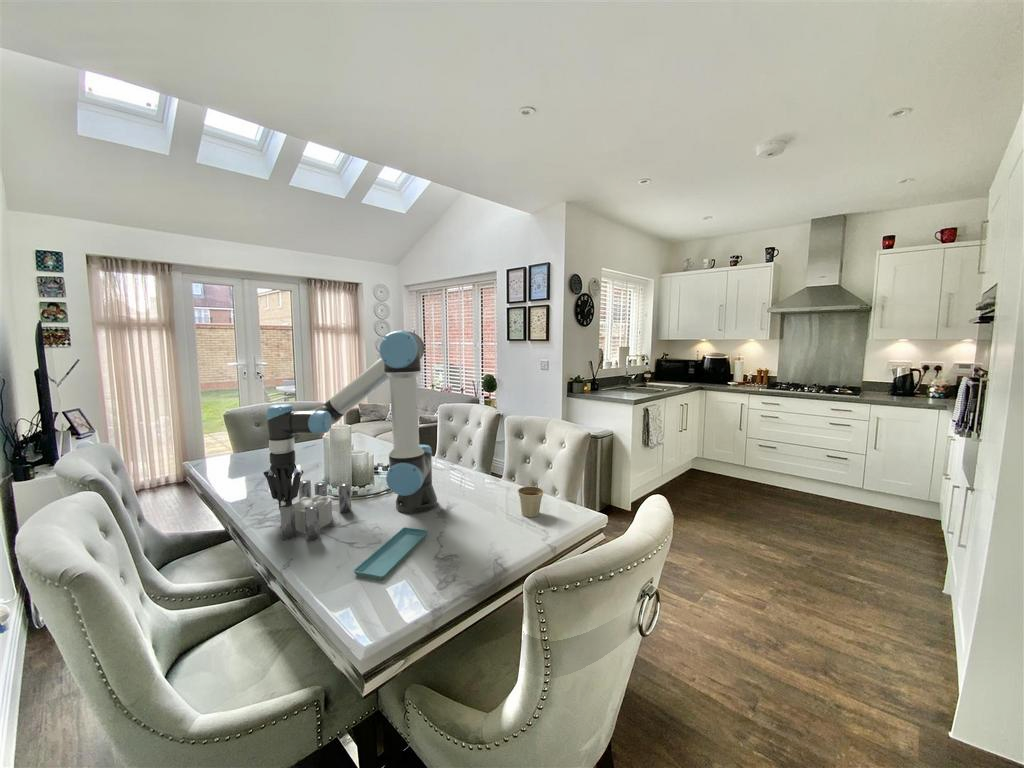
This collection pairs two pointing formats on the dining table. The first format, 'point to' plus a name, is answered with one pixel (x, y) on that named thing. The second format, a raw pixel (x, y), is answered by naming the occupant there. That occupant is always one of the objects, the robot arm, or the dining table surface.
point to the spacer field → (311, 510)
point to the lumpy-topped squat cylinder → (324, 511)
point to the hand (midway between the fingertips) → (286, 518)
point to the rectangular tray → (391, 554)
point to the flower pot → (530, 500)
